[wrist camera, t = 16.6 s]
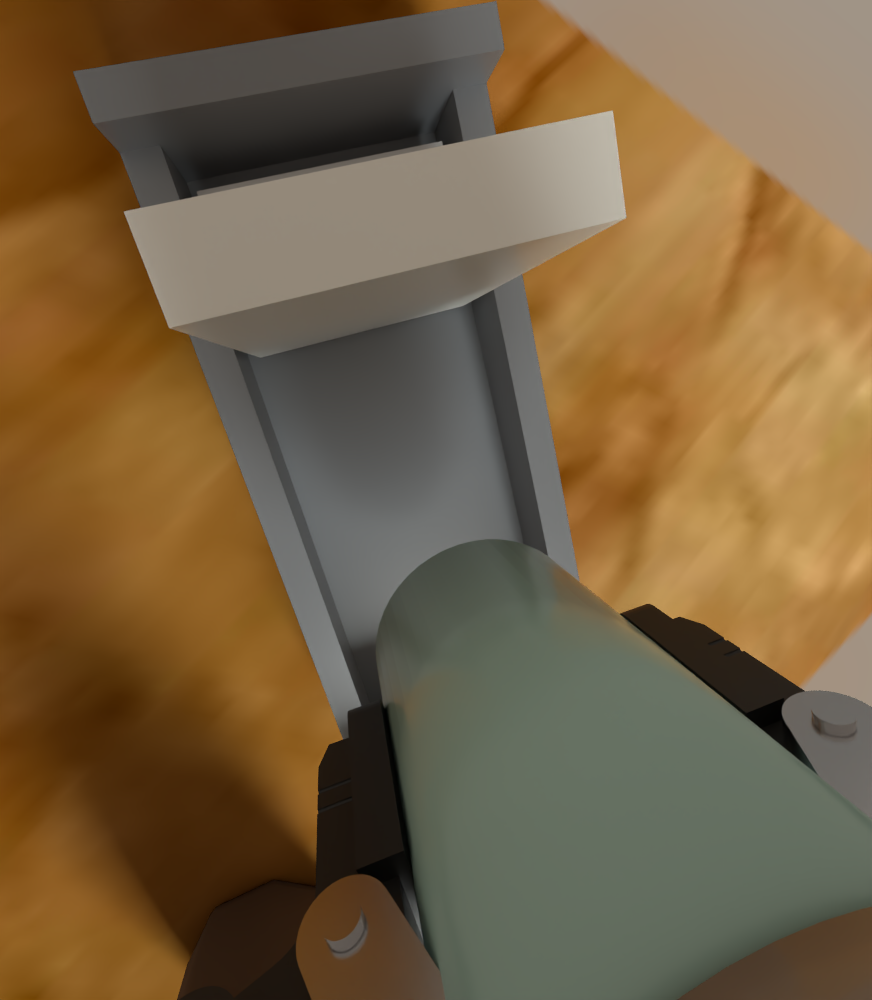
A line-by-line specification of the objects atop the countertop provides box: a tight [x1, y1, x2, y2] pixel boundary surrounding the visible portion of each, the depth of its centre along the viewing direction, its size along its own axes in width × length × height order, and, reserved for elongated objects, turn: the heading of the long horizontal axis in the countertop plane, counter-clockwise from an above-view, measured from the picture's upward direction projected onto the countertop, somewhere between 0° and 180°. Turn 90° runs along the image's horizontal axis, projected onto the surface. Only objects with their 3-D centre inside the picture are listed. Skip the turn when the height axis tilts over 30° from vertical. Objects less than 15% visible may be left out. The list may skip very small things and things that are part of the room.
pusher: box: [124, 111, 626, 358], centre depth 12 cm, size 4×7×10 cm, turn 104°
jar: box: [376, 539, 872, 1000], centre depth 8 cm, size 6×6×10 cm
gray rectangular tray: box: [73, 1, 579, 739], centre depth 16 cm, size 22×10×6 cm, turn 14°
